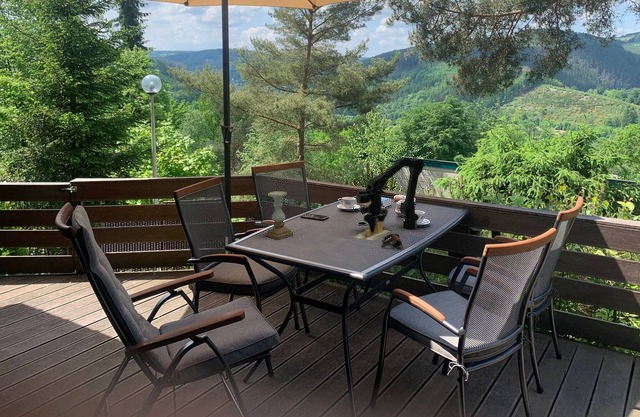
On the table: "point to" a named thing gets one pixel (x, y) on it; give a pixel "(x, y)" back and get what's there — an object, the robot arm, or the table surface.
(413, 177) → the robot arm
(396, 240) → the brown striped lump
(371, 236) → the birch board
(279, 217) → the candle holder
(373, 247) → the table surface
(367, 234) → the copper post
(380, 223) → the tan wooden cube
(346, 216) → the table surface
